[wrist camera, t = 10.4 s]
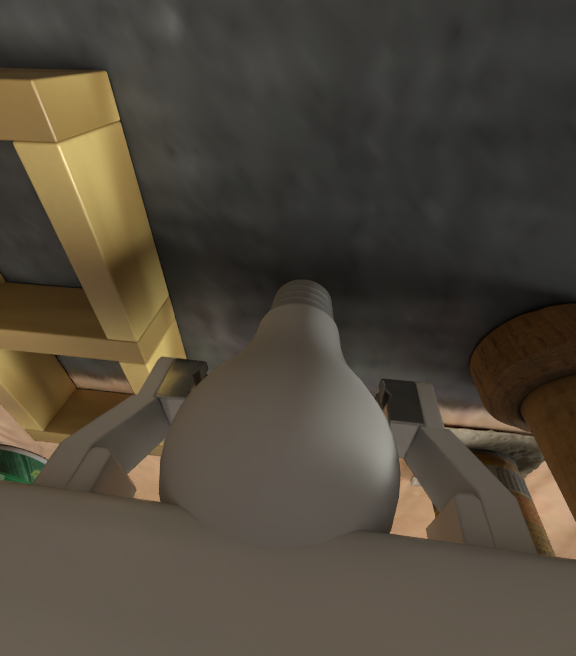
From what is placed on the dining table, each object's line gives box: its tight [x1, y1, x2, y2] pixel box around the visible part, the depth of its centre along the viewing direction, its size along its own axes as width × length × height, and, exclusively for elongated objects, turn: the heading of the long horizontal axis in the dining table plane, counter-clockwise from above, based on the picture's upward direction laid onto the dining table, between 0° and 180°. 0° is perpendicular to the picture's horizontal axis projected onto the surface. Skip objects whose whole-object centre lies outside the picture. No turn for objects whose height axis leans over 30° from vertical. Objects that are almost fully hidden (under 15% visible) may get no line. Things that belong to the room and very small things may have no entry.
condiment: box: [411, 427, 556, 557], centre depth 19 cm, size 7×8×12 cm
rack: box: [0, 68, 187, 456], centre depth 16 cm, size 19×10×4 cm, turn 179°
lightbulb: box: [159, 279, 401, 548], centre depth 11 cm, size 6×6×11 cm
